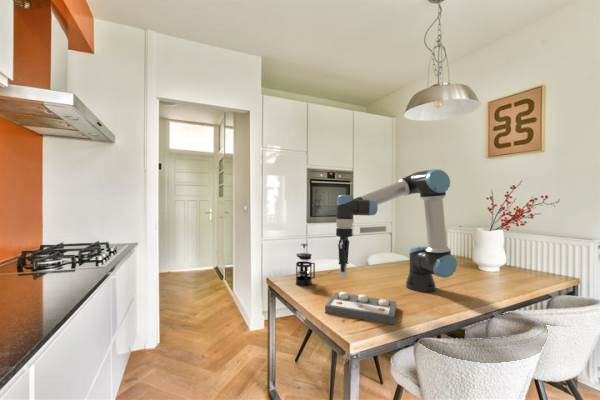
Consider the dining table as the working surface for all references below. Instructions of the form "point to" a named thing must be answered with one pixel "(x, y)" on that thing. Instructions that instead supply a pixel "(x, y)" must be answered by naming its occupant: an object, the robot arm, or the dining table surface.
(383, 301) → the button
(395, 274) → the dining table surface
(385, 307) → the button board
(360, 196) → the robot arm
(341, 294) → the button
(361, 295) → the button middle
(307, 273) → the french press
